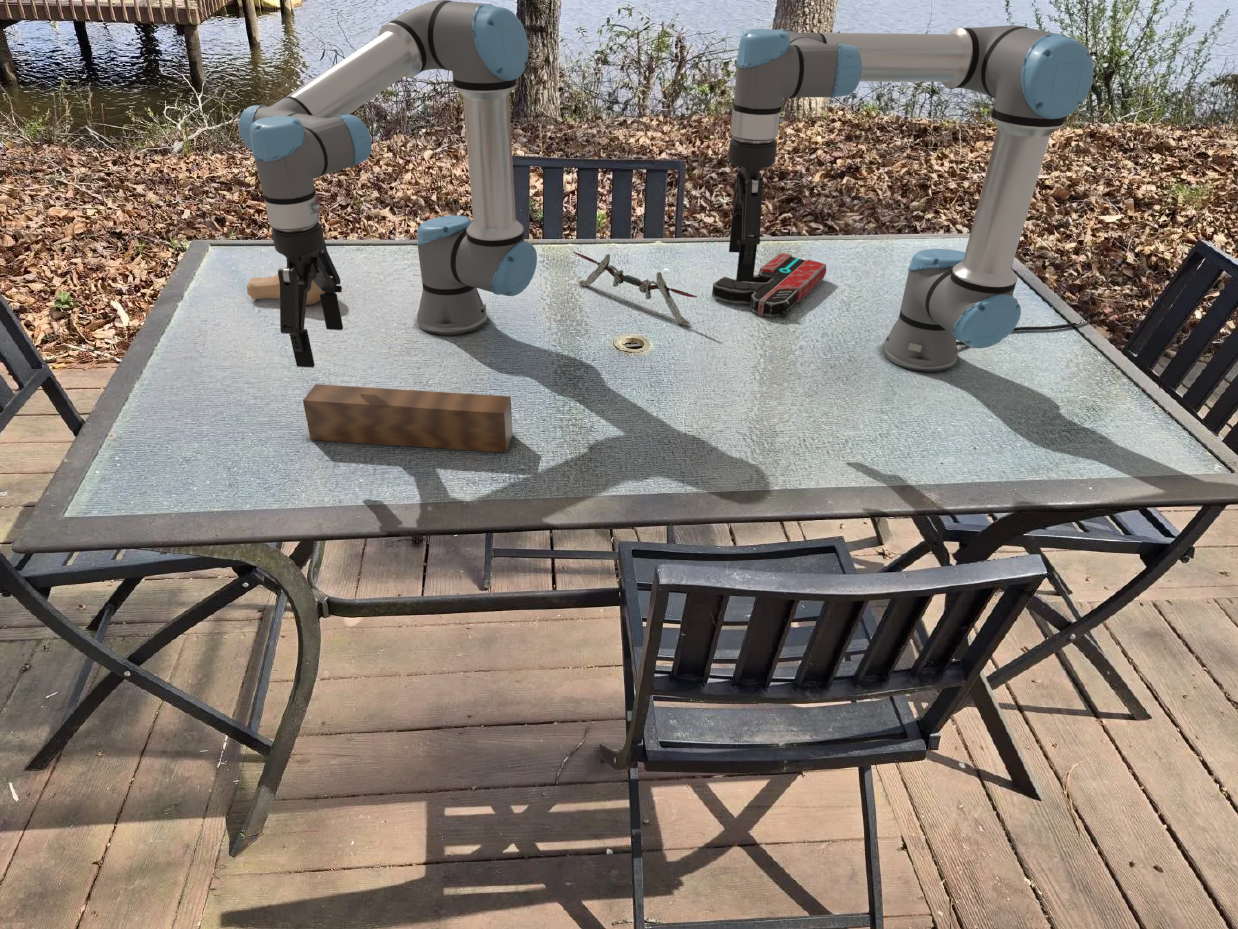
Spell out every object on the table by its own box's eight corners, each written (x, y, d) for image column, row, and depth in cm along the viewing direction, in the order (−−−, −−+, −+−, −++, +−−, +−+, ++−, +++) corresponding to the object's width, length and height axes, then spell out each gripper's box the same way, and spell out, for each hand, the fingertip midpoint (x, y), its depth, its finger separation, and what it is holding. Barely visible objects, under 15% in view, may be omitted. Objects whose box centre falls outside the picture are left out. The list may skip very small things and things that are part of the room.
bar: (310, 439, 155) (302, 400, 150) (322, 422, 160) (315, 383, 155) (506, 452, 153) (504, 413, 148) (512, 434, 158) (510, 396, 153)
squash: (332, 309, 201) (318, 275, 195) (248, 317, 202) (232, 283, 196) (343, 284, 209) (330, 250, 203) (262, 291, 210) (247, 258, 204)
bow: (697, 327, 197) (701, 285, 192) (692, 329, 196) (696, 287, 191) (576, 279, 219) (576, 241, 213) (571, 281, 218) (571, 242, 212)
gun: (708, 284, 207) (784, 305, 199) (760, 245, 229) (831, 262, 221) (706, 302, 209) (781, 323, 201) (758, 261, 231) (828, 278, 223)
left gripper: (287, 255, 125) (315, 384, 138) (346, 198, 146) (366, 315, 158) (236, 253, 126) (269, 382, 138) (302, 197, 146) (325, 313, 159)
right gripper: (789, 159, 129) (771, 294, 141) (767, 120, 150) (753, 241, 162) (738, 157, 129) (724, 293, 141) (723, 119, 150) (713, 240, 162)
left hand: (320, 346), depth 148 cm, fingers open, 13 cm apart
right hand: (740, 265), depth 151 cm, fingers open, 13 cm apart
